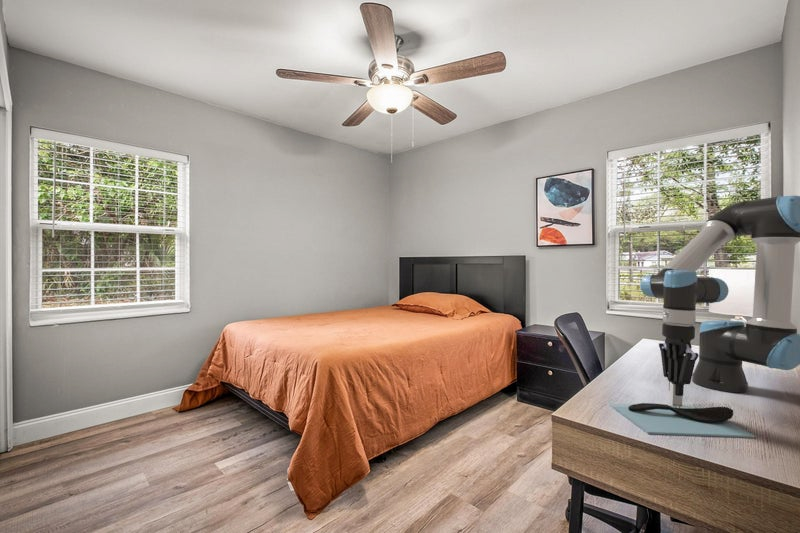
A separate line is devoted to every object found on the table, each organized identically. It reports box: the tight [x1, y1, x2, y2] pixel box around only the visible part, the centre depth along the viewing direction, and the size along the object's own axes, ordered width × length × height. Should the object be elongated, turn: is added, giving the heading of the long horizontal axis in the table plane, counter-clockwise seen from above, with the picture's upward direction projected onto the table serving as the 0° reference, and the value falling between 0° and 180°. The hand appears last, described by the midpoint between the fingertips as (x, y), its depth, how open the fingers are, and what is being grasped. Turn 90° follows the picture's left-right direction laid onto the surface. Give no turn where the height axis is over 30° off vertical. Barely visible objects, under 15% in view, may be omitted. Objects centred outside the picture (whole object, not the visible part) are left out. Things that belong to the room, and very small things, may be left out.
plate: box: [606, 402, 756, 439], centre depth 103 cm, size 26×20×1 cm
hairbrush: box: [628, 402, 734, 423], centre depth 104 cm, size 8×4×25 cm
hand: (675, 405), depth 107 cm, fingers closed
